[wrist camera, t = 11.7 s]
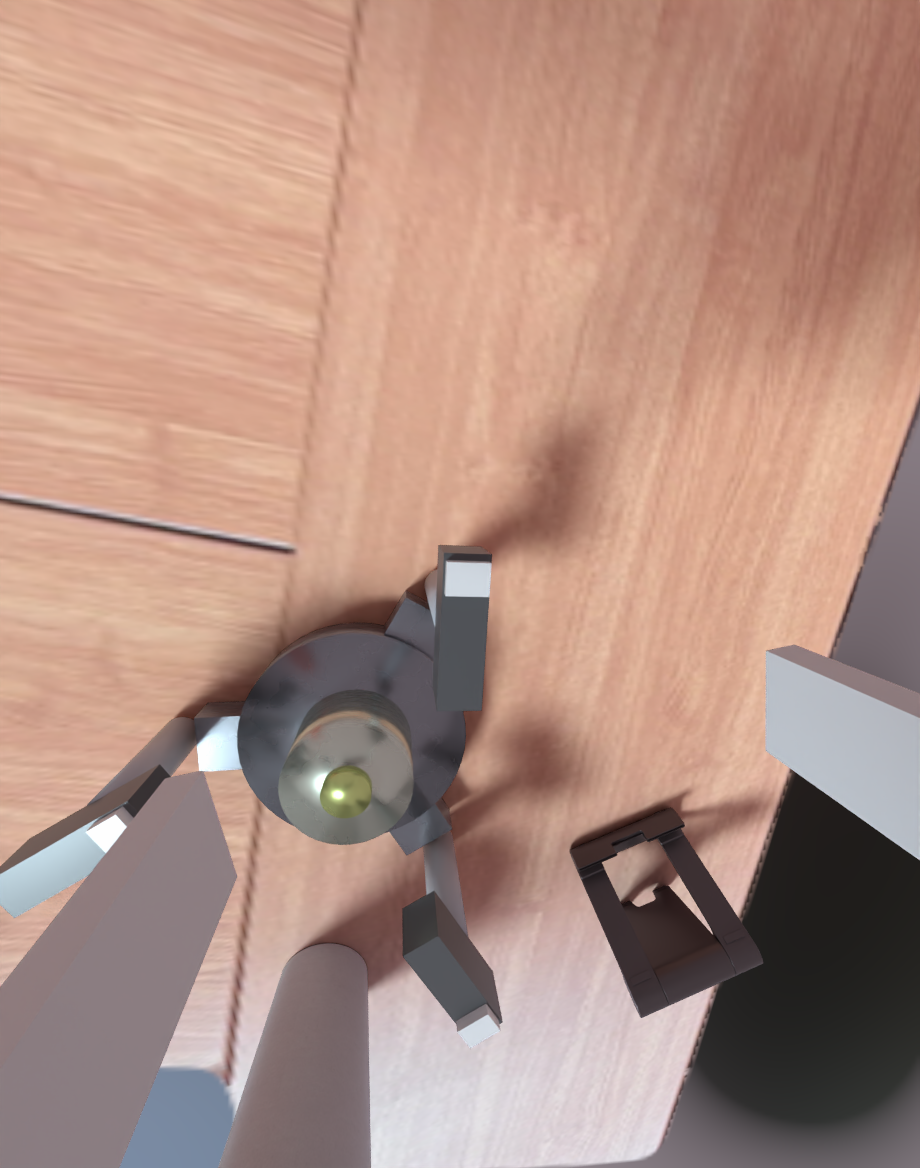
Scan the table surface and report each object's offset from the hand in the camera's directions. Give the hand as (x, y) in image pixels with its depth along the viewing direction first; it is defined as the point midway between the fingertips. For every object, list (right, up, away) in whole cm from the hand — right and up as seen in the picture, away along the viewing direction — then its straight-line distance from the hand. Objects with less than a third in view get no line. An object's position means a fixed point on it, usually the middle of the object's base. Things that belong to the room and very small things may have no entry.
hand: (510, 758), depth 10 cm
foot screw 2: (-3, -15, +23) cm, 27 cm away
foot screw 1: (-19, -5, +19) cm, 27 cm away
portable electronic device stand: (+13, -18, +26) cm, 34 cm away
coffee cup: (-12, -26, +25) cm, 38 cm away
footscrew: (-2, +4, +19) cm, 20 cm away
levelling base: (-7, -4, +20) cm, 22 cm away
